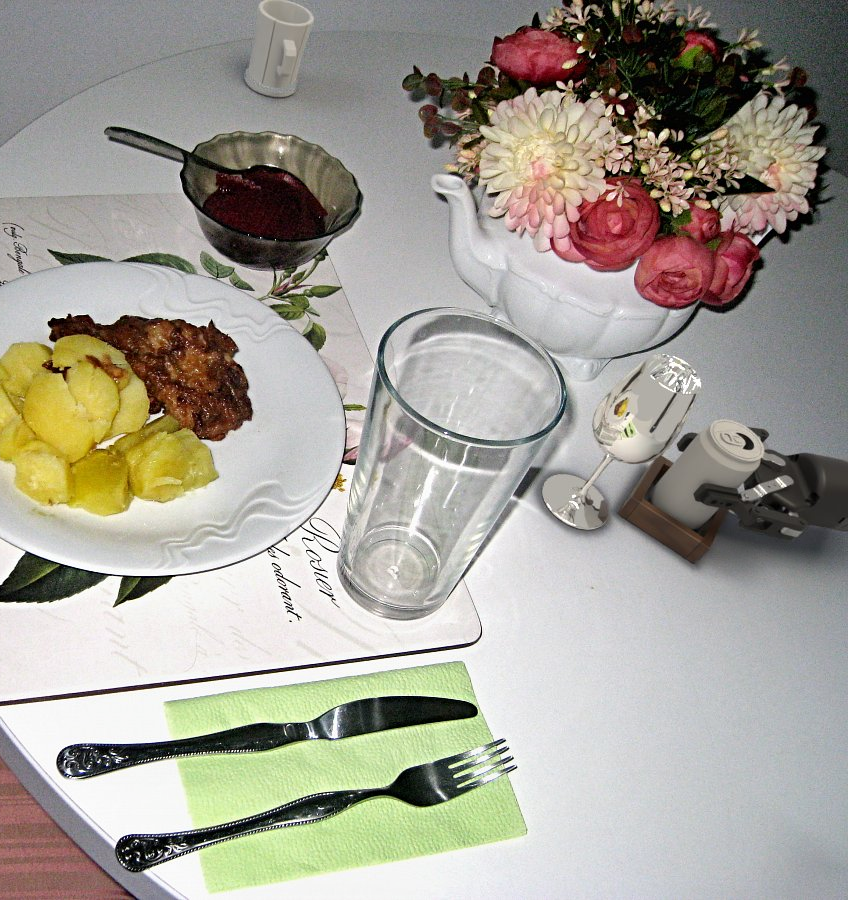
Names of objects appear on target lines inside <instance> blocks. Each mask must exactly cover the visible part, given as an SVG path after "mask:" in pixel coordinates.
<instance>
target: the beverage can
mask: <svg viewBox="0 0 848 900" xmlns="http://www.w3.org/2000/svg"><path fill="white" fill-rule="evenodd" d="M747 427H748V426H745V425H744V424H742V423H740V422H738V421H736V420H732V419H724V418H721V419H716V420H714V421H713V422H712V423H711V424H709V425H706V426H704V427H703V428H702V429H700V431H699V432H698V435H697V436H696V437H695V438H694V440H693V441H692V442H691V443H690V444H689V446H688V447H687V448H686V449H685V450H684V452H681V454H680V455H679V457H677V459H676V460H675V461H674V462H673V463H674V464H673V465H672V466H671V467H670V468H669V470H668V471H667V472H666V473H665V474H664V476H663V477H662V478H661V479H660V480H659V482H658V483H657V484H656V483H655V485H654V487H653V488H652V489H651V491H650V503H651V504H653V505H654V506H656V507H657V508H659V509H660V510H662V511H663V512H665V513H667V514H668V515H670V516H671V517H673V518H674V519H676V520H677V521H679V522H680V523H682V524H683V525H685V526H687V527H688V528H690V529H691V530H697V529H701V528H702V526H703V525H704V524H705V523H706V522H707V521H708V520H709V519H710V517H711V516H712V515H713V514H714V513H715V512H716V511H717V510H718V509H719V508H717V507H713V506H707V505H705V504H702V502H697V501H695V498H694V495H693V494H694V492H695V491H696V490H697V489H698V488H699V487H700V486H701V485H702V484H705V483H709V484H714V485H719V486H724V487H730V488H735V489H737V490H738V489H739V488H740V487H741V486H742V485H744V481H745V480H746V479H747V478H748V477H749V476H750V475H751V474H752V473H753V472H754V471H755V470H756V469H757V468H758V467H759V465H760V461H761V458H762V456H763V454H764V446H763V444H762V442H761V440H760V439H759V438H758V436H757V435H756V434H755V433H754V432H753V431H751V430H750V429H749V428H747Z"/></svg>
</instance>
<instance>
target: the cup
mask: <svg viewBox="0 0 848 900" xmlns="http://www.w3.org/2000/svg"><path fill="white" fill-rule="evenodd" d="M256 15H257V17H256V23H255V30H254V31H255V32H254V37H253V44H252V50H251V55H250V59H249V64H248V66H249V74H250V76H251V77H252V78H253V79H254V80H256V81H257V82H259V85H260V84H262V86H263V85H265V86H263V87H266V86H267V88H269V87H273V88H272V89H274V88H282V87H283V88H284V87H287V86H289V85H292V84H293V83H294V82H295V80H296V78H297V76H298V73H299V69H300V66H301V61H302V58H303V55H304V51H305V49H306V45H307V42H308V40H309V37H310V33H311V30H312V28H313V24H314V21H315V17H314V14H313V13H312V12H311V11H310V10H309V9H307V8H306V7H305V6H302V5H301V4H298V3H296V2H294V1H290V0H263V1H262V0H261V2H259V4H258V8H257V14H256ZM243 77H244V81H245V83H246V84H247V86H248V87H249V88H250V89H252V91H254V92H256V93H257V94H260V95H263V96H267V97H270V98H286V97H290V96H291V95H293V94H294V93H295V92H293V91H291V92H287V93H274V92H269V91H266V90H263V89H260V88H258V87H256V86H254V85H253V84H251V83H250V82H249V81H248V80H247V78H246V77H245V74H244V76H243ZM250 79H251V78H250ZM254 82H255V81H254ZM269 89H271V88H269Z"/></svg>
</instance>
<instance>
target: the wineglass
mask: <svg viewBox="0 0 848 900" xmlns="http://www.w3.org/2000/svg"><path fill="white" fill-rule="evenodd" d="M702 388H703V381H702V379H701V377H700V375H699V373H698V372H697V371H696V370H695V368H693V366H692V365H690V364H689V363H688V362H687V361H685V360H683V359H681V358H679V357H677V356H674V355H672V354H667V353H662V352H661V353H659V352H658V353H652V354H650V355H649V356H647V357H646V358H645V359H644V360H643V361H642V362H640V363H639V364H638V365H636V366H635V367H634V368H633V369H632V370H631V371H629V372H628V373H627V374H626V375H625V376H624V377H622V378H621V380H619V381H618V382H617V383H616V384H615V385H614V386H613V387H612V388H611V389H610V390H609V391H608V393H606V395H605V396H604V397H603V398H602V399H601V401H600V402H599V403H598V405H597V407H596V408H595V410H594V413H593V418H592V423H591V426H592V427H591V428H592V433H593V438H594V440H595V442H596V445H598V447H599V449H600V450H601V452H603V453H604V456H603V458H602V459H601V461H600V463H599V464H598V465H597V467H596V468H595V470H593V472H592V473H591V475H590V476H589V477H588V478H587V480H585V479H583V478H581V477H578V476H576V475H572V474H565V473H561V474H560V473H559V474H555V475H552V476H550V477H548V478H546V480H545V481H544V483H543V485H542V490H541V493H542V499H543V501H544V503H545V505H546V507H547V508H548V509H549V511H550V513H552V514H553V515H554V516H555V517H556V518H557V519H558V520H560V521H562V522H563V523H565V524H566V525H568V526H571V527H573V528H576V529H579V530H595V529H598V528H600V527H602V526H603V525H604V524H605V523H606V522H607V520H608V518H609V507H608V503H607V501H606V499H605V498H604V496H603V495H602V494H601V492H600V491H599V490H598V489H597V488H596V487H595V486H594V483H595V482H596V481H597V480H598V478H599V477H600V475H602V473H603V472H604V471H605V470H606V468H607V467H608V466H609V465H610V464H611V463H612V462H613V461H616V462H619V463H623V464H628V465H640V464H645V463H649V462H653V461H654V459H656V458H658V457H659V456H661V455H662V456H663V455H664V454H665V453H666V451H668V450H669V449H670V447H671V446H672V445H673V444H674V442H675V440H676V439H677V438H678V437H679V435H680V434H681V432H682V430H683V428H684V426H685V424H686V422H687V421H688V418H689V416H690V414H691V412H692V410H693V408H694V406H695V403H696V401H697V399H698V396H699V395H700V392H701V390H702Z"/></svg>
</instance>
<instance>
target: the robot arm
mask: <svg viewBox="0 0 848 900" xmlns="http://www.w3.org/2000/svg"><path fill="white" fill-rule="evenodd" d="M746 427H747V428H749V429H750V430H751V431H753V432H754V433H755V434H756V435H757V436H758V438H759V439H760V440H761V442H762V444H763V446H764V454H763V456H762V458H761V461H760V465H759V467H758V468H757V469H756V470H755V471H754V472H753V473H752V474H751V475H750V476H749V477H748V478H747V479H746V480H745V481H744V483H743V489H744V490H743V491H741V492H739V491H738V489H735V488H730V487H724V486H719V485H714V484H709V483H705V484H702V485H701V486H700V487H699V488H698V489H697V490H696V491H695V492H694V494H693V495H694V498H695V501H697V502H702V504H705V505H707V506H713V507H717V508H722V509H728V513H730V514H731V515H735V516H737V518H738V520H737V524H738V526H739V527H740V528H741V529H742V530H746V531H750V532H754V533H757V534H761V535H764V536H769V537H773V538H777V539H781V540H784V541H788V542H792V541H795V540H796V538H798V537H799V536H800V535H801V534H802V533H803V532H804V531H805V530H806V529H807V528H808V527H809V526H811V527H812V526H813V527H817V528H818V527H819V528H823V529H829V530H834V531H838V532H839V531H840V532H844V533H848V460H846V459H841V458H837V457H836V458H835V457H833V456H831V457H830V456H825V455H821V454H817V453H810V452H798V453H793V454H788V455H785V454H782V453H781V452H779V451H777V450H774V449H770V447H769V445H768V443H767V441H766V440H767V439H768V438H769V436H770V433H769V432H768V430H766V429H764V428H759V427H750V426H746ZM698 434H699V432H697V433H696V432H687V433H685V434H683V435H682V437H681V438H680V439H679V440H678V441H677V443H676V448H677V450H678V452H681V453H683V452H684V450H685V449H686V448H687V447H688V446H689V444H690V443H691V442H692V441H693V440H694V438H695V437H696V436H697V435H698ZM760 520H762V521H760Z"/></svg>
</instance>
